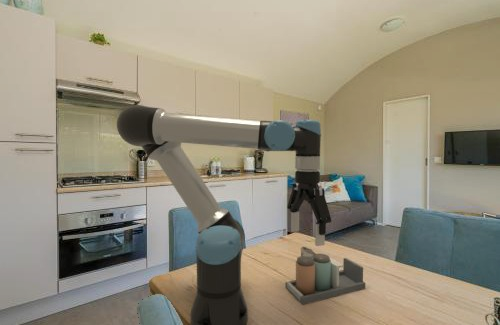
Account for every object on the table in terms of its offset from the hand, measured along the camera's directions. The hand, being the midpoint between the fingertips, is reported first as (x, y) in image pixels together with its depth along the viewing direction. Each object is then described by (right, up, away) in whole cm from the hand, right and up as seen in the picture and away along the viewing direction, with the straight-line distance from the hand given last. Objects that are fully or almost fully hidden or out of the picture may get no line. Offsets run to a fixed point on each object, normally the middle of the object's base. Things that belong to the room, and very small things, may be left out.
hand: (306, 237), depth 79 cm
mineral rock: (+6, -17, +22) cm, 29 cm away
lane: (+7, -17, +3) cm, 19 cm away
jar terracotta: (0, -17, 0) cm, 17 cm away
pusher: (+9, -16, +4) cm, 19 cm away
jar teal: (+5, -17, +3) cm, 18 cm away
